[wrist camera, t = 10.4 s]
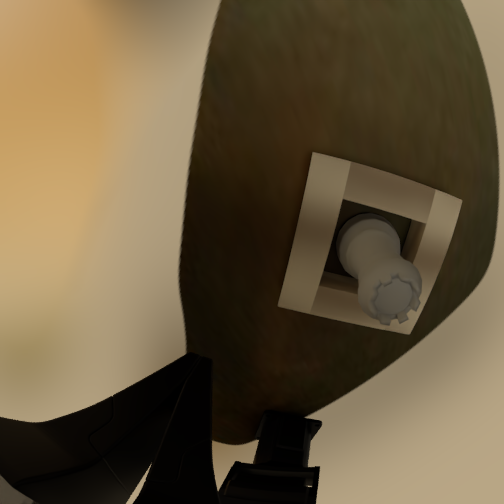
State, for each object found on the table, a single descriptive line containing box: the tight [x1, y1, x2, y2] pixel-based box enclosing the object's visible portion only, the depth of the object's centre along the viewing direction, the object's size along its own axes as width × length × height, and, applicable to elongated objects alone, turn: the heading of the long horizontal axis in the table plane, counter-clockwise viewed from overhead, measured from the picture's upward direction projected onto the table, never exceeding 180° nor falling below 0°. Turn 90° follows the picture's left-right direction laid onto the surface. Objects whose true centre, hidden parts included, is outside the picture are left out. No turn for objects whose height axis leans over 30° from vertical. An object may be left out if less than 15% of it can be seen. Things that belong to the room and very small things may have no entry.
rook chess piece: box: [336, 213, 422, 326], centre depth 14 cm, size 4×4×8 cm
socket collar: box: [278, 152, 462, 334], centre depth 17 cm, size 10×10×2 cm
